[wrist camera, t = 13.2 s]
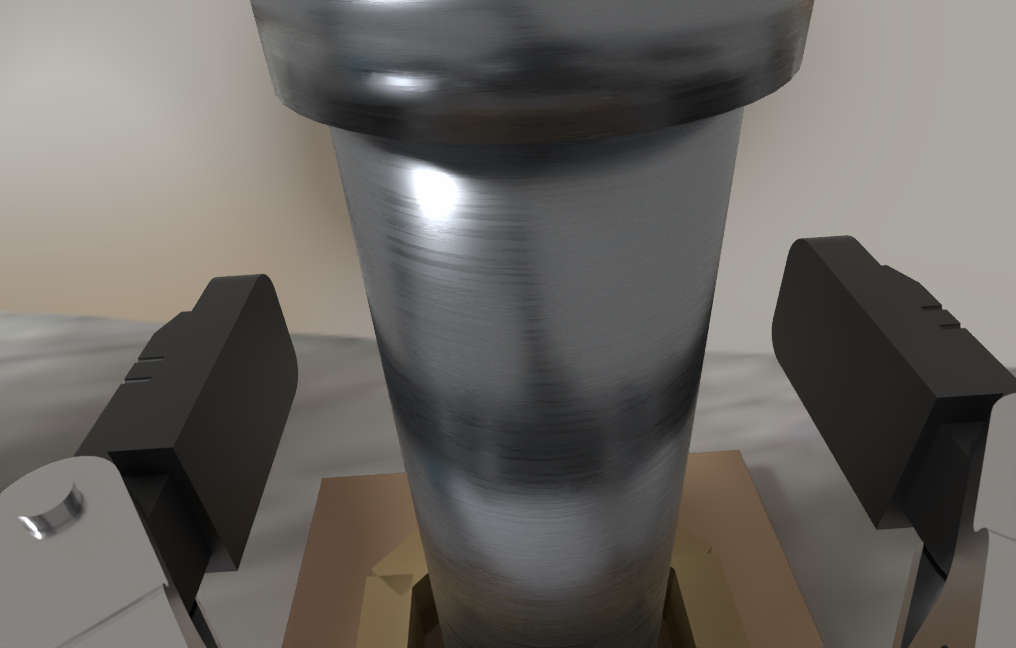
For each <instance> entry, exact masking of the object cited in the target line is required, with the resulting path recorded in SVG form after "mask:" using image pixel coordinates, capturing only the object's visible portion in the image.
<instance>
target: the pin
mask: <svg viewBox="0 0 1016 648" xmlns="http://www.w3.org/2000/svg"><path fill="white" fill-rule="evenodd" d="M250 2H251V6H252V10H253V14H254V17H255V21H256V25H257V29H258V32H259V36H260V40H261V43H262V48H263V51H264V55H265V59H266V63H267V66H268V70H269V74H270V78H271V81H272V85H273V88H274V91H275V95H276V96H277V97H278V98H279V99H280V101H281V102H282V103H283V104H284V105H285V106H287V107H289V108H290V109H292V110H293V111H295V112H296V113H298V114H300V115H302V116H305V117H307V118H309V119H312V120H314V121H316V122H319V123H322V124H326V125H329V127H330V132H331V136H332V141H333V145H334V150H335V154H336V159H337V163H338V168H339V172H340V177H341V181H342V186H343V190H344V195H345V199H346V204H347V208H348V213H349V217H350V221H351V226H352V231H353V235H354V240H355V244H356V249H357V253H358V258H359V262H360V267H361V271H362V276H363V280H364V285H365V289H366V294H367V298H368V303H369V307H370V312H371V316H372V321H373V325H374V330H375V334H376V339H377V343H378V348H379V352H380V357H381V361H382V366H383V370H384V375H385V379H386V384H387V388H388V393H389V397H390V402H391V406H392V411H393V415H394V420H395V424H396V429H397V433H398V438H399V442H400V447H401V451H402V456H403V460H404V465H405V469H406V474H407V478H408V483H409V487H410V492H411V496H412V501H413V505H414V510H415V514H416V519H417V523H418V528H419V532H420V537H421V542H422V546H423V551H424V555H425V560H426V564H427V569H428V573H429V578H430V582H431V587H432V591H433V596H434V600H435V605H436V609H437V614H438V618H439V623H440V627H441V632H442V636H443V641H444V645H445V648H657V645H658V639H659V633H660V627H661V621H662V614H663V608H664V602H665V596H666V590H667V583H668V577H669V571H670V565H671V559H672V552H673V546H674V540H675V534H676V528H677V521H678V515H679V509H680V503H681V497H682V490H683V484H684V478H685V472H686V466H687V459H688V453H689V447H690V441H691V434H692V428H693V422H694V416H695V410H696V403H697V397H698V391H699V385H700V379H701V372H702V366H703V360H704V354H705V347H706V341H707V335H708V329H709V322H710V317H711V310H712V304H713V298H714V291H715V285H716V279H717V273H718V267H719V260H720V254H721V248H722V241H723V236H724V230H725V223H726V217H727V211H728V205H729V198H730V192H731V186H732V180H733V174H734V168H735V160H736V155H737V149H738V143H739V136H740V130H741V124H742V118H743V111H744V106H746V105H748V104H751V103H753V102H755V101H757V100H759V99H761V98H763V97H765V96H767V95H769V94H771V93H773V92H775V91H777V90H778V89H779V88H780V87H782V86H783V85H785V84H786V83H788V82H789V81H790V80H791V79H792V78H793V77H794V75H795V74H796V73H797V72H798V71H799V69H800V65H801V62H802V59H803V54H804V49H805V44H806V39H807V34H808V29H809V24H810V19H811V15H812V10H813V5H814V0H250Z"/></svg>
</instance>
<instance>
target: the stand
mask: <svg viewBox="0 0 1016 648" xmlns="http://www.w3.org/2000/svg"><path fill="white" fill-rule="evenodd" d="M282 648H445V645H444V641H443V636H442V632H441V627H440V623H439V618H438V614H437V609H436V605H435V600H434V596H433V591H432V587H431V582H430V578H429V573H428V569H427V564H426V560H425V555H424V551H423V546H422V542H421V537H420V532H419V528H418V523H417V519H416V514H415V510H414V505H413V501H412V496H411V492H410V487H409V483H408V478H407V474H406V473H395V474H380V475H366V476H351V477H336V478H322V482H321V487H320V491H319V495H318V499H317V503H316V507H315V512H314V516H313V520H312V524H311V528H310V532H309V536H308V541H307V545H306V549H305V553H304V557H303V561H302V566H301V570H300V574H299V578H298V582H297V586H296V591H295V595H294V599H293V603H292V607H291V611H290V615H289V620H288V624H287V628H286V632H285V636H284V640H283V645H282ZM657 648H825V646H824V644H823V642H822V640H821V637H820V635H819V633H818V630H817V628H816V626H815V623H814V621H813V619H812V617H811V614H810V612H809V610H808V607H807V605H806V603H805V600H804V598H803V596H802V594H801V591H800V589H799V587H798V584H797V582H796V580H795V577H794V575H793V573H792V570H791V568H790V566H789V564H788V561H787V559H786V557H785V554H784V552H783V550H782V547H781V545H780V543H779V541H778V538H777V536H776V534H775V531H774V529H773V527H772V524H771V522H770V520H769V518H768V515H767V513H766V511H765V508H764V506H763V504H762V501H761V499H760V497H759V494H758V492H757V490H756V488H755V485H754V483H753V481H752V478H751V476H750V474H749V471H748V469H747V467H746V465H745V462H744V460H743V458H742V455H741V453H740V451H739V450H734V451H719V452H704V453H689V454H688V459H687V466H686V472H685V478H684V484H683V490H682V497H681V503H680V509H679V515H678V521H677V528H676V534H675V540H674V546H673V552H672V559H671V565H670V571H669V577H668V583H667V590H666V596H665V602H664V608H663V614H662V621H661V627H660V633H659V639H658V645H657Z"/></svg>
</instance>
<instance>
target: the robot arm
mask: <svg viewBox="0 0 1016 648" xmlns="http://www.w3.org/2000/svg"><path fill="white" fill-rule="evenodd" d="M772 342H773V348H774V352H775V355H776V358H777V360H778V362H779V364H780V365H781V367H782V369H783V370H784V372H785V374H786V376H787V377H788V379H789V381H790V382H791V384H792V386H793V387H794V389H795V391H796V393H797V394H798V396H799V398H800V399H801V401H802V403H803V405H804V406H805V408H806V410H807V411H808V413H809V415H810V417H811V418H812V420H813V422H814V423H815V425H816V427H817V429H818V430H819V432H820V434H821V435H822V437H823V439H824V441H825V442H826V444H827V446H828V447H829V449H830V451H831V453H832V454H833V456H834V458H835V459H836V461H837V463H838V465H839V466H840V468H841V470H842V471H843V473H844V475H845V476H846V478H847V480H848V482H849V483H850V485H851V487H852V488H853V490H854V492H855V494H856V495H857V497H858V499H859V500H860V502H861V504H862V506H863V507H864V509H865V511H866V512H867V514H868V516H869V518H870V519H871V521H872V523H873V524H874V526H875V528H876V530H880V529H894V528H909V527H914V529H915V530H916V532H917V533H918V535H919V537H920V538H921V540H922V541H921V542H920V544H919V546H918V548H917V550H916V552H915V555H914V557H913V562H912V566H911V570H910V574H909V579H908V583H907V587H906V592H905V596H904V600H903V604H902V609H901V613H900V617H899V621H898V626H897V630H896V634H895V639H894V643H893V647H892V648H1016V378H1015V377H1014V376H1013V375H1012V374H1011V373H1010V372H1009V371H1008V370H1007V369H1006V368H1005V367H1004V366H1003V365H1002V364H1001V363H1000V362H999V361H998V360H997V359H996V358H995V357H994V356H993V355H992V354H991V353H990V352H989V351H988V350H987V349H986V348H985V347H984V346H983V345H982V344H981V343H980V342H979V341H978V340H977V339H976V338H975V337H974V336H973V335H972V334H971V333H970V332H969V331H968V330H967V329H965V328H962V329H961V328H960V323H959V321H958V320H956V318H955V317H954V316H952V314H950V313H949V312H948V311H947V310H942V305H941V304H940V303H939V302H938V301H937V300H936V299H935V298H934V297H933V296H932V295H931V294H930V293H929V292H928V291H927V290H926V289H925V288H924V287H923V286H922V285H921V284H920V283H919V282H917V281H915V280H913V279H911V278H909V277H908V276H906V275H904V274H902V273H900V272H898V271H897V270H895V269H893V268H891V267H889V266H887V265H884V266H881V265H880V264H879V263H878V262H877V261H876V260H875V259H874V258H873V257H872V256H871V254H869V253H868V251H867V250H866V249H865V248H864V247H863V246H862V245H861V244H860V243H859V242H858V241H857V240H856V239H855V238H853V237H852V236H848V235H847V236H833V237H818V238H802V239H797V240H796V241H795V242H794V243H793V244H792V246H791V248H790V250H789V254H788V257H787V262H786V266H785V271H784V275H783V279H782V283H781V287H780V292H779V296H778V300H777V305H776V309H775V313H774V317H773V323H772ZM297 382H298V367H297V359H296V354H295V350H294V347H293V344H292V341H291V338H290V335H289V332H288V329H287V326H286V322H285V319H284V316H283V313H282V310H281V307H280V304H279V301H278V298H277V294H276V291H275V288H274V286H273V283H272V281H271V280H270V278H269V277H268V276H267V275H265V274H256V275H242V276H226V277H215V278H213V279H212V280H211V281H210V282H209V284H208V285H207V287H206V289H205V290H204V292H203V294H202V295H201V297H200V299H199V300H198V302H197V304H196V305H195V307H194V308H193V310H192V311H188V312H181V313H179V314H178V315H177V316H176V317H175V318H173V319H172V320H171V321H169V322H168V323H167V324H166V325H164V326H163V327H162V328H161V329H159V330H158V331H157V332H156V333H154V334H153V336H152V337H151V339H150V341H149V342H148V344H147V345H146V347H145V348H144V350H143V351H142V353H141V354H140V356H139V357H138V363H134V365H133V367H132V368H131V370H130V371H129V373H128V374H127V376H126V377H125V384H121V385H120V386H119V388H118V389H117V391H116V392H115V394H114V396H113V397H112V399H111V400H110V402H109V403H108V405H107V406H106V408H105V409H104V411H103V412H102V414H101V415H100V417H99V418H98V420H97V422H96V423H95V425H94V426H93V428H92V429H91V431H90V432H89V434H88V435H87V437H86V438H85V440H84V441H83V443H82V444H81V446H80V448H79V449H78V451H77V452H76V454H75V455H74V457H71V458H67V459H62V460H59V461H56V462H53V463H50V464H47V465H45V466H43V467H40V468H38V469H36V470H34V471H32V472H30V473H28V474H26V475H25V476H23V477H22V478H20V479H19V480H17V481H15V482H14V483H13V484H11V485H10V486H9V487H7V488H6V489H5V490H4V491H3V492H2V493H0V648H221V646H220V644H219V642H218V639H217V637H216V635H215V633H214V631H213V629H212V627H211V625H210V623H209V620H208V618H207V616H206V614H205V612H204V610H203V608H202V606H201V604H200V602H199V601H198V599H197V597H196V595H197V592H198V590H199V587H200V584H201V581H202V579H203V576H204V573H211V572H226V571H238V568H239V565H240V561H241V558H242V555H243V552H244V549H245V546H246V543H247V540H248V537H249V534H250V531H251V528H252V525H253V522H254V519H255V515H256V512H257V509H258V506H259V503H260V500H261V497H262V494H263V491H264V488H265V485H266V482H267V479H268V476H269V473H270V470H271V466H272V463H273V460H274V457H275V454H276V451H277V448H278V445H279V442H280V439H281V436H282V433H283V430H284V427H285V424H286V421H287V417H288V414H289V411H290V408H291V405H292V402H293V399H294V396H295V393H296V389H297Z"/></svg>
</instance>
